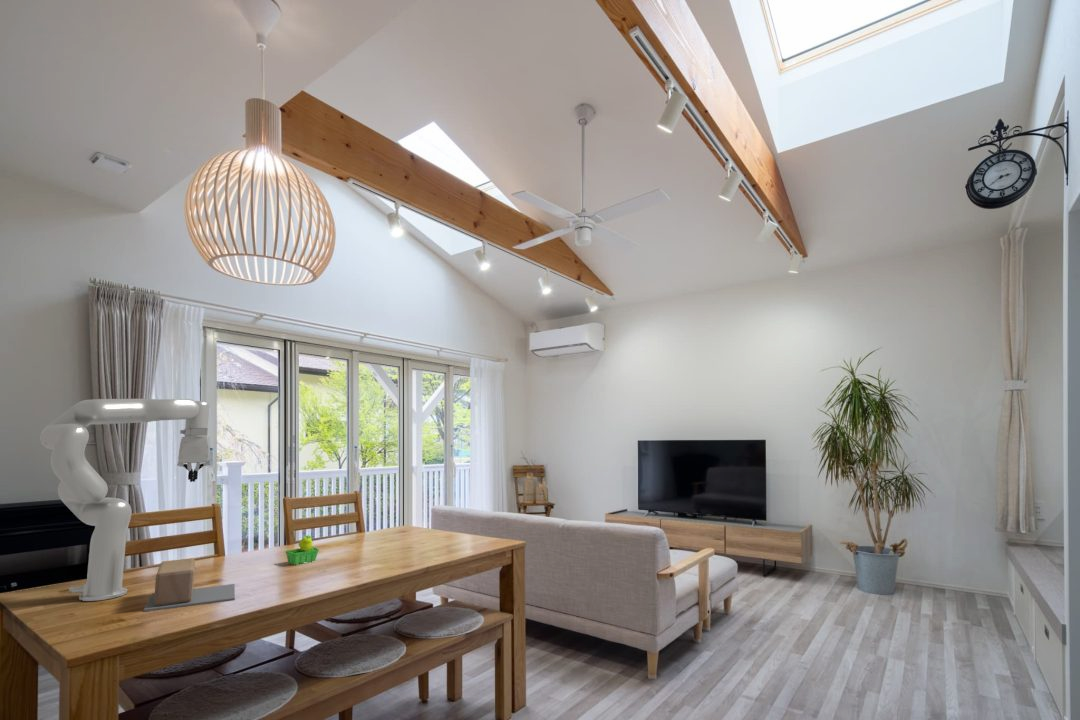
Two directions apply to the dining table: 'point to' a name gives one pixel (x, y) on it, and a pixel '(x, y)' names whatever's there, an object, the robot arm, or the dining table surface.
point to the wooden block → (174, 582)
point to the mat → (200, 597)
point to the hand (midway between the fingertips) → (192, 481)
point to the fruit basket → (303, 552)
